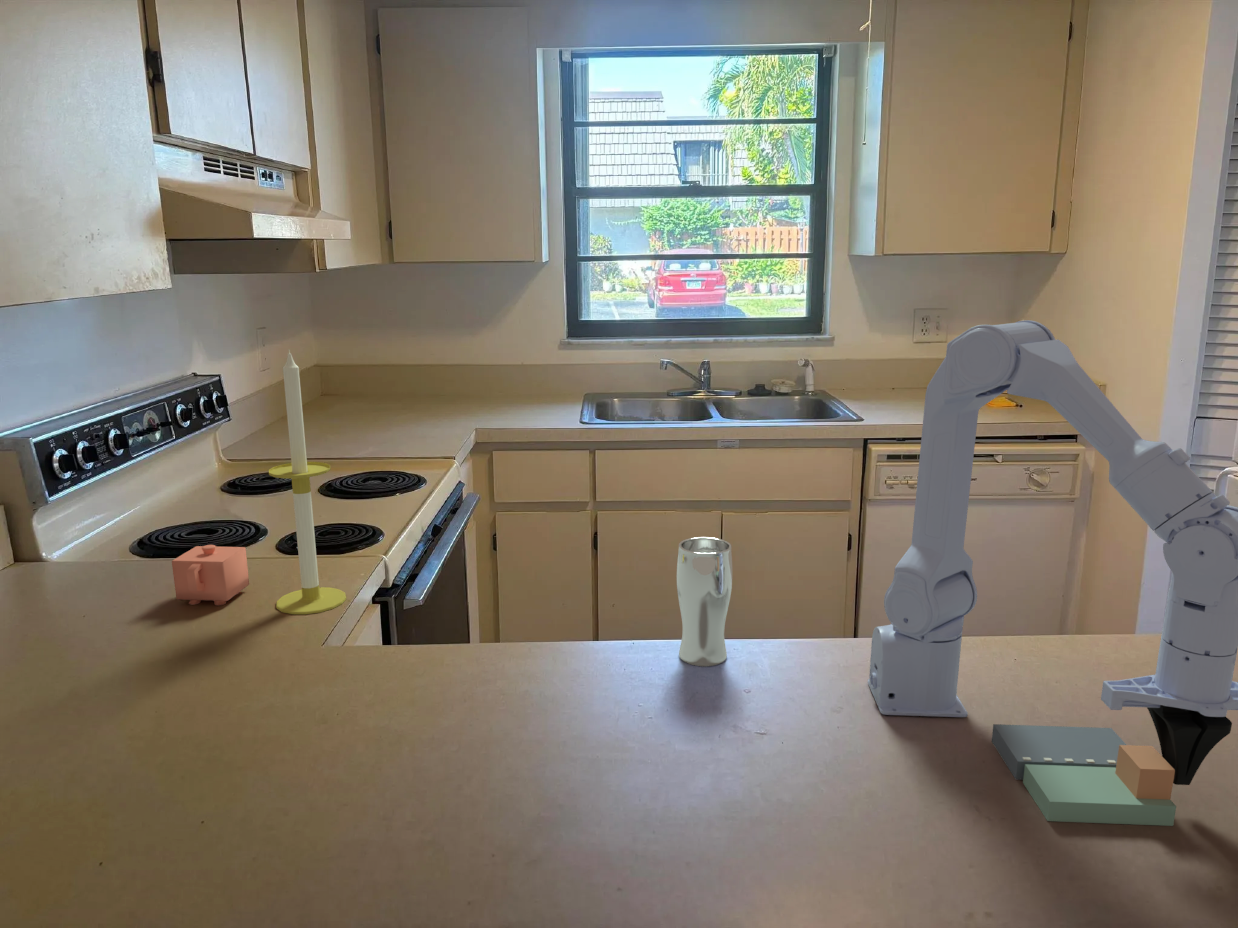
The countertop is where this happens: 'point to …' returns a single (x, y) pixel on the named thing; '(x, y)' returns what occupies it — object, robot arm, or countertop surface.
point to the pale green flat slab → (1106, 790)
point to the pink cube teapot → (210, 574)
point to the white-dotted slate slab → (1055, 746)
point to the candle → (303, 507)
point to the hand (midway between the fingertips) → (1176, 778)
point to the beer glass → (704, 598)
